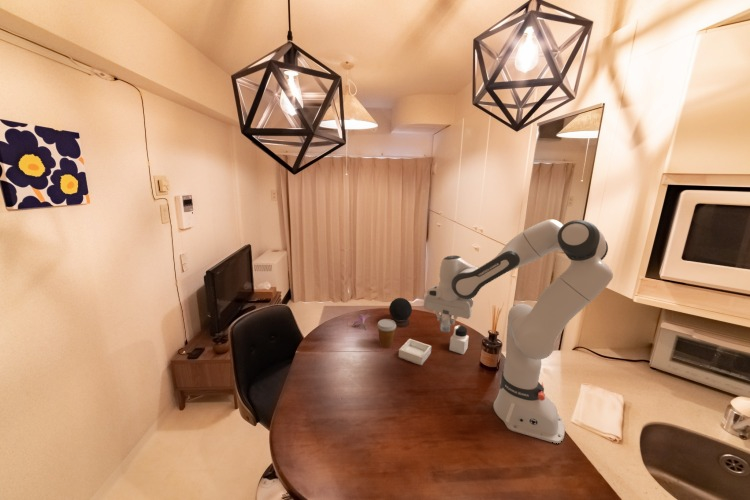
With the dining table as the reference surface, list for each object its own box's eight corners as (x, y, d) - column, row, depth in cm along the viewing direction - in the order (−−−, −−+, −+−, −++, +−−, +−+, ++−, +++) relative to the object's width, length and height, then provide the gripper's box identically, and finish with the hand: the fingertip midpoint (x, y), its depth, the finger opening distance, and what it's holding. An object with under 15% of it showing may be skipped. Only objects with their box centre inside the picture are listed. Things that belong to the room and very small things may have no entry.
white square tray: (430, 353, 140) (431, 345, 139) (421, 365, 130) (421, 357, 129) (409, 345, 146) (409, 338, 145) (398, 357, 136) (398, 349, 135)
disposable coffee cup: (383, 337, 152) (384, 316, 150) (398, 343, 147) (399, 322, 144) (372, 345, 145) (373, 323, 142) (388, 352, 140) (389, 329, 137)
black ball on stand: (384, 322, 168) (384, 298, 165) (397, 315, 178) (398, 292, 175) (402, 330, 160) (403, 305, 157) (415, 322, 170) (416, 298, 166)
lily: (374, 325, 167) (369, 309, 168) (375, 327, 156) (369, 310, 157) (354, 332, 166) (349, 316, 167) (354, 335, 154) (348, 318, 156)
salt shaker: (451, 328, 128) (453, 306, 125) (448, 333, 124) (450, 310, 122) (441, 326, 130) (443, 304, 127) (438, 330, 126) (440, 308, 124)
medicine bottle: (467, 348, 145) (470, 326, 142) (463, 355, 139) (466, 332, 136) (453, 343, 148) (455, 322, 146) (449, 350, 143) (451, 328, 140)
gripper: (475, 295, 121) (471, 325, 124) (428, 285, 130) (426, 313, 134) (472, 300, 115) (468, 331, 119) (423, 290, 125) (421, 319, 128)
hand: (445, 322), depth 126 cm, fingers closed on salt shaker, 4 cm apart
